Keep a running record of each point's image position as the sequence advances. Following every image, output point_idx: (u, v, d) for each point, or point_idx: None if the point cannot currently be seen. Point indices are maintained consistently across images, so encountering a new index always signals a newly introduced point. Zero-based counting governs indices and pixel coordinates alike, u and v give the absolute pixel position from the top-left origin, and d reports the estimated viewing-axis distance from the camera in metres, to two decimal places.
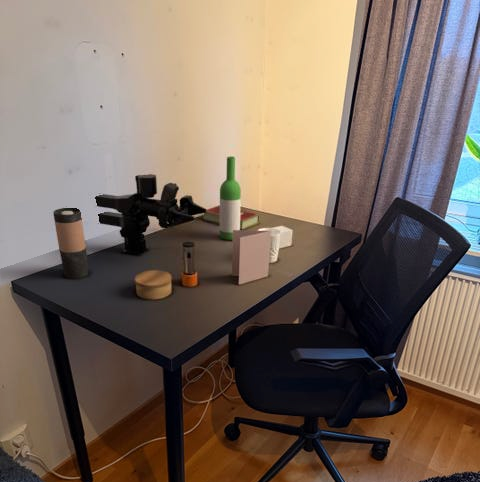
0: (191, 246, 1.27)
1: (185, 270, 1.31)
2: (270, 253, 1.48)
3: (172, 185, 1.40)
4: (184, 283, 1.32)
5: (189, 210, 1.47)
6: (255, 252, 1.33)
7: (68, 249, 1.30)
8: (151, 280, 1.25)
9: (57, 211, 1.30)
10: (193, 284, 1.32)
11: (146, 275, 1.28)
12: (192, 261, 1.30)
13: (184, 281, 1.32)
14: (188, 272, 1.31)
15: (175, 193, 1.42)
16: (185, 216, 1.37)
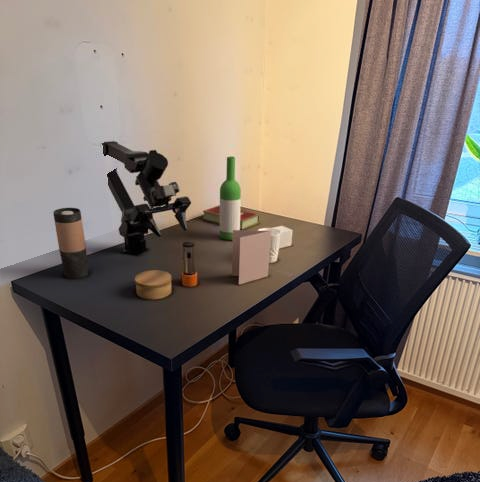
0: (191, 246, 1.27)
1: (185, 270, 1.31)
2: (270, 253, 1.48)
3: (170, 190, 1.28)
4: (184, 283, 1.32)
5: (177, 213, 1.38)
6: (255, 252, 1.33)
7: (68, 249, 1.30)
8: (151, 280, 1.25)
9: (57, 211, 1.30)
10: (193, 284, 1.32)
11: (146, 275, 1.28)
12: (192, 261, 1.30)
13: (184, 281, 1.32)
14: (188, 272, 1.31)
15: (170, 196, 1.31)
16: (154, 228, 1.30)
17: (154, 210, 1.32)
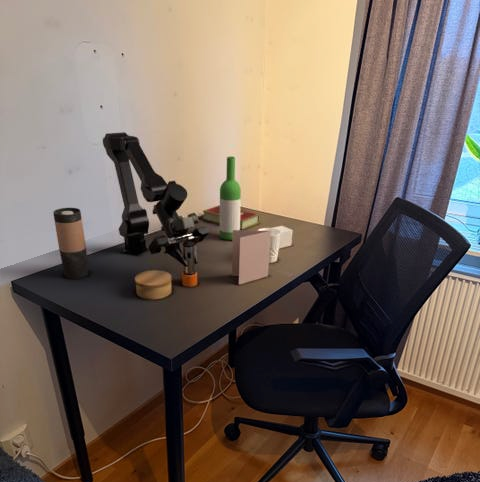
0: (191, 246, 1.27)
1: (185, 270, 1.31)
2: (270, 253, 1.48)
3: (189, 222, 1.25)
4: (184, 283, 1.32)
5: None
6: (255, 252, 1.33)
7: (68, 249, 1.30)
8: (151, 280, 1.25)
9: (57, 211, 1.30)
10: (193, 284, 1.32)
11: (146, 275, 1.28)
12: (192, 261, 1.30)
13: (184, 281, 1.32)
14: (188, 272, 1.31)
15: (189, 227, 1.28)
16: (181, 258, 1.29)
17: None
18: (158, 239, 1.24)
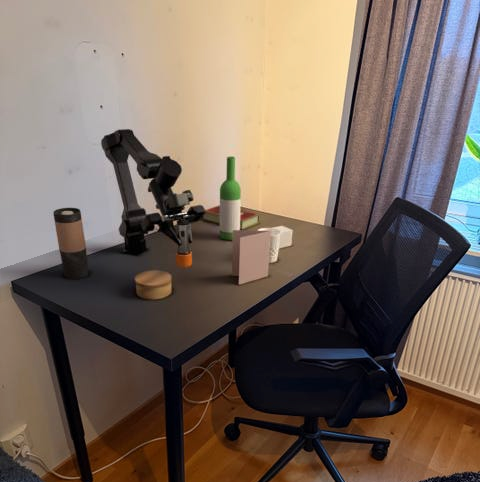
0: (185, 224, 1.23)
1: (179, 249, 1.27)
2: (270, 253, 1.48)
3: (183, 199, 1.21)
4: (178, 263, 1.28)
5: None
6: (255, 252, 1.33)
7: (68, 249, 1.30)
8: (151, 280, 1.25)
9: (57, 211, 1.30)
10: (187, 264, 1.28)
11: (146, 275, 1.28)
12: (186, 240, 1.25)
13: (178, 261, 1.28)
14: (182, 251, 1.27)
15: (183, 205, 1.24)
16: (175, 237, 1.24)
17: None
18: (150, 216, 1.20)
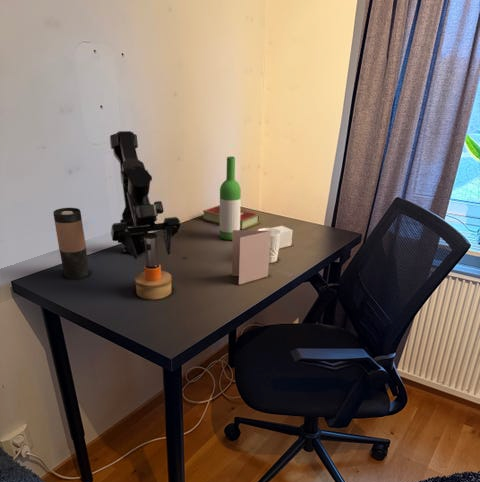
0: (151, 237, 1.20)
1: (146, 262, 1.24)
2: (270, 253, 1.48)
3: (150, 210, 1.18)
4: (145, 276, 1.25)
5: (164, 235, 1.26)
6: (255, 252, 1.33)
7: (68, 249, 1.30)
8: None
9: (57, 211, 1.30)
10: (154, 278, 1.25)
11: None
12: (153, 254, 1.22)
13: (145, 274, 1.25)
14: (149, 265, 1.24)
15: (153, 216, 1.20)
16: (131, 250, 1.20)
17: (136, 229, 1.23)
18: (116, 225, 1.19)
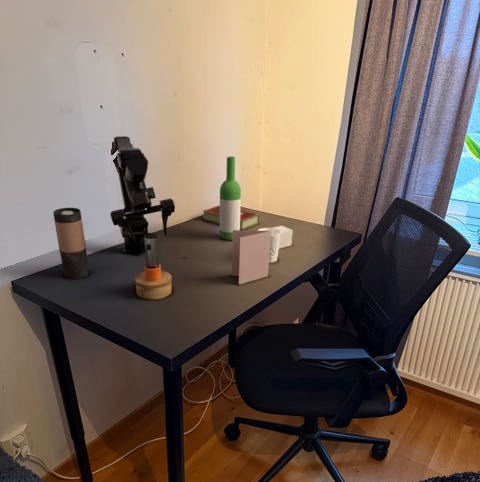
0: (151, 237, 1.20)
1: (146, 262, 1.24)
2: (270, 253, 1.48)
3: (142, 198, 1.24)
4: (145, 276, 1.25)
5: None
6: (255, 252, 1.33)
7: (68, 249, 1.30)
8: None
9: (57, 211, 1.30)
10: (154, 278, 1.25)
11: None
12: (153, 254, 1.22)
13: (145, 274, 1.25)
14: (149, 265, 1.24)
15: None
16: (130, 235, 1.30)
17: (134, 214, 1.31)
18: (114, 213, 1.28)
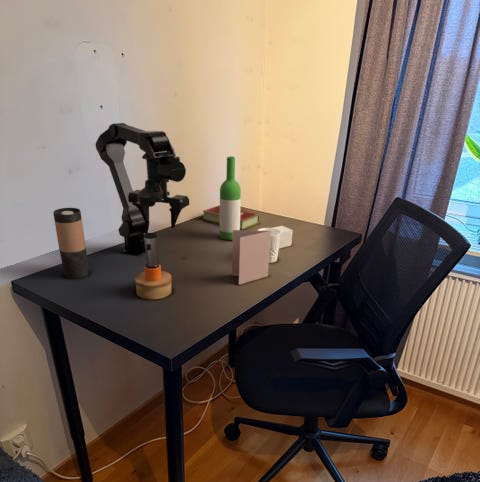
0: (151, 237, 1.20)
1: (146, 262, 1.24)
2: (270, 253, 1.48)
3: (145, 201, 1.30)
4: (145, 276, 1.25)
5: None
6: (255, 252, 1.33)
7: (68, 249, 1.30)
8: None
9: (57, 211, 1.30)
10: (154, 278, 1.25)
11: None
12: (153, 254, 1.22)
13: (145, 274, 1.25)
14: (149, 265, 1.24)
15: None
16: None
17: None
18: (129, 197, 1.37)
